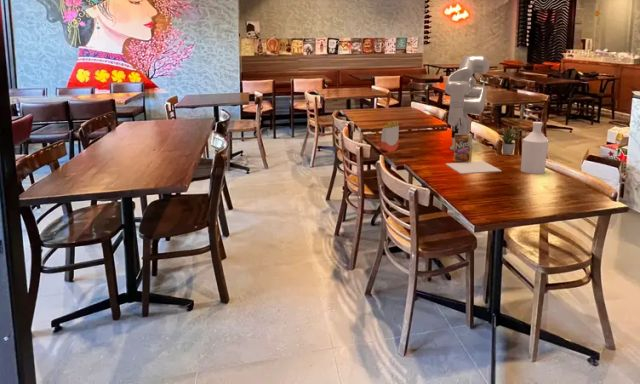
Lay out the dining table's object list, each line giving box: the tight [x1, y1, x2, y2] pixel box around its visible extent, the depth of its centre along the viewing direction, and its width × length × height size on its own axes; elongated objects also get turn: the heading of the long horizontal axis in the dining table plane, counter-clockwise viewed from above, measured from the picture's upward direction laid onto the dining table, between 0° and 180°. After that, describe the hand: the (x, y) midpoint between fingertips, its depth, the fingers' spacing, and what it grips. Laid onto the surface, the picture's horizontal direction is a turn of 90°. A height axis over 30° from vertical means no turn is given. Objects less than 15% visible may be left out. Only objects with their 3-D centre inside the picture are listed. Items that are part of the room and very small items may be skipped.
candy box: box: [453, 133, 473, 163], centre depth 281 cm, size 9×4×15 cm, turn 56°
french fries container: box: [380, 121, 400, 153], centre depth 310 cm, size 5×11×18 cm, turn 130°
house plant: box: [499, 126, 522, 155], centre depth 296 cm, size 14×14×16 cm
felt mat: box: [445, 160, 502, 175], centre depth 270 cm, size 20×22×1 cm
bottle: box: [520, 121, 549, 175], centre depth 259 cm, size 12×12×25 cm
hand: (454, 137), depth 290 cm, fingers closed
